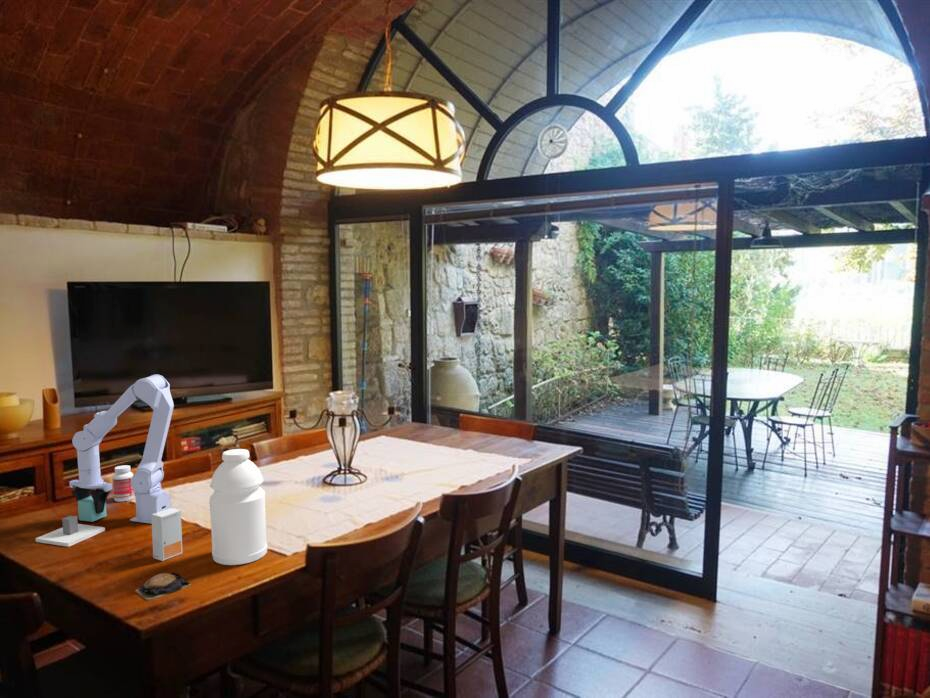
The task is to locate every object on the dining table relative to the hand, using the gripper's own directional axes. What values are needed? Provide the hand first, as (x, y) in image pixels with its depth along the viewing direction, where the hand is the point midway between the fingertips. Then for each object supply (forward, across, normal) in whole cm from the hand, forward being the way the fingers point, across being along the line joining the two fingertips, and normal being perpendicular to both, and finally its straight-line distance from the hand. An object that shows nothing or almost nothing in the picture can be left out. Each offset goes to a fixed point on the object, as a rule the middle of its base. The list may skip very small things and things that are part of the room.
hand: (92, 511), depth 198 cm
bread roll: (+3, -54, +30) cm, 62 cm away
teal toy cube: (+2, 0, 0) cm, 2 cm away
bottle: (+3, -60, +9) cm, 61 cm away
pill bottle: (+3, +6, -18) cm, 19 cm away
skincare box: (+3, -42, +15) cm, 45 cm away
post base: (+2, -5, +12) cm, 13 cm away
